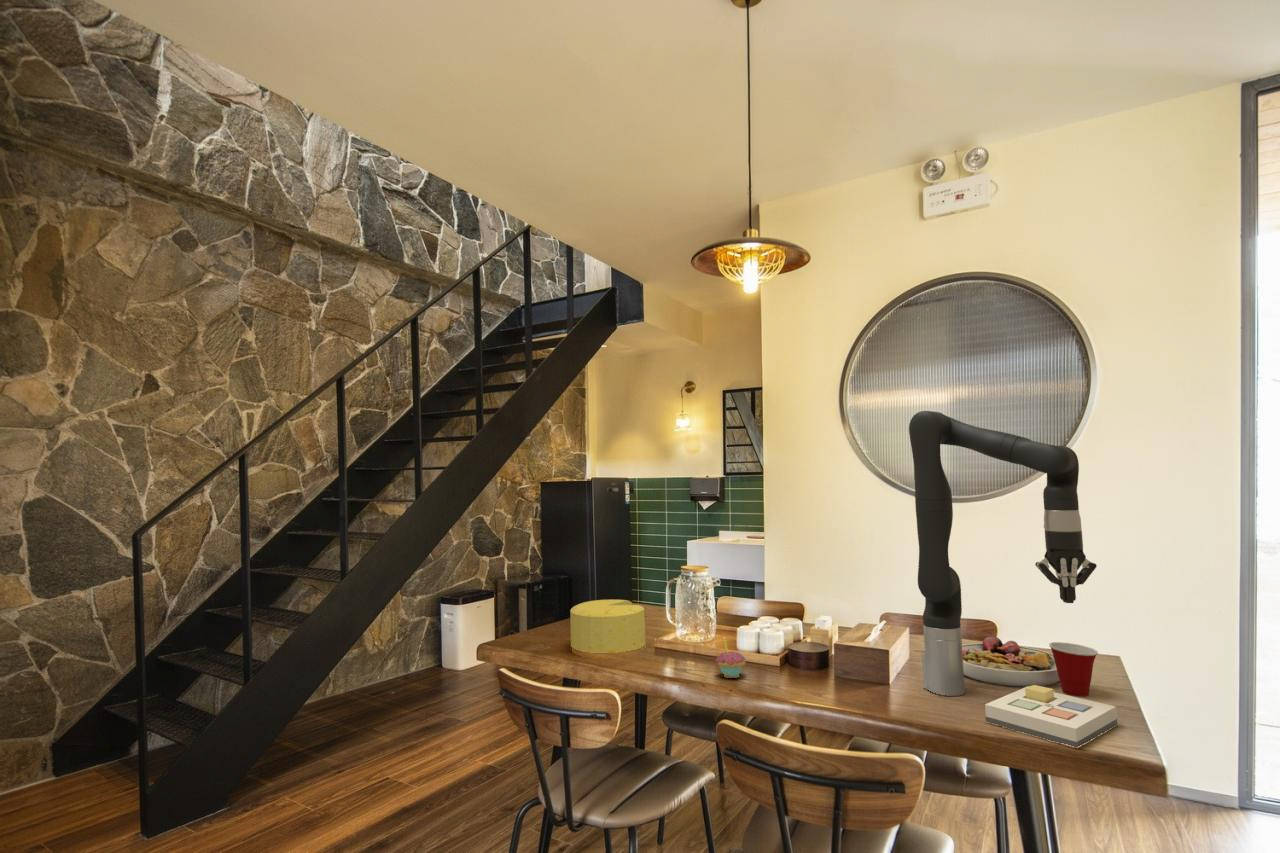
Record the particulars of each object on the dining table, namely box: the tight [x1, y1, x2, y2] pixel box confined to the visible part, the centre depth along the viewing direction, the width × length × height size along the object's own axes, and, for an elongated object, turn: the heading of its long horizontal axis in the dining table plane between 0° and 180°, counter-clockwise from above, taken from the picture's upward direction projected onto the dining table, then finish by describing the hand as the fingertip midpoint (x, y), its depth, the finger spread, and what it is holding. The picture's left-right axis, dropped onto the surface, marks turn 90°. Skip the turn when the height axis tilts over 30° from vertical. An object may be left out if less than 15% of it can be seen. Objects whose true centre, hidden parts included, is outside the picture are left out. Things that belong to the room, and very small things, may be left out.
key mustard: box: [1024, 685, 1055, 703], centre depth 156 cm, size 4×4×2 cm
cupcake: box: [715, 634, 747, 676], centre depth 193 cm, size 9×8×12 cm
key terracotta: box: [1045, 709, 1076, 720], centre depth 146 cm, size 4×4×2 cm
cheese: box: [569, 599, 646, 653], centre depth 229 cm, size 26×26×15 cm
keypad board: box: [984, 686, 1118, 747], centre depth 151 cm, size 19×21×4 cm
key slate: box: [1060, 701, 1090, 712], centre depth 150 cm, size 4×4×2 cm
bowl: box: [962, 635, 1060, 688], centre depth 190 cm, size 30×30×8 cm
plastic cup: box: [1048, 641, 1099, 698], centre depth 171 cm, size 11×11×12 cm
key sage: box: [1010, 700, 1039, 711], centre depth 152 cm, size 4×4×2 cm
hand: (1068, 602), depth 155 cm, fingers closed
